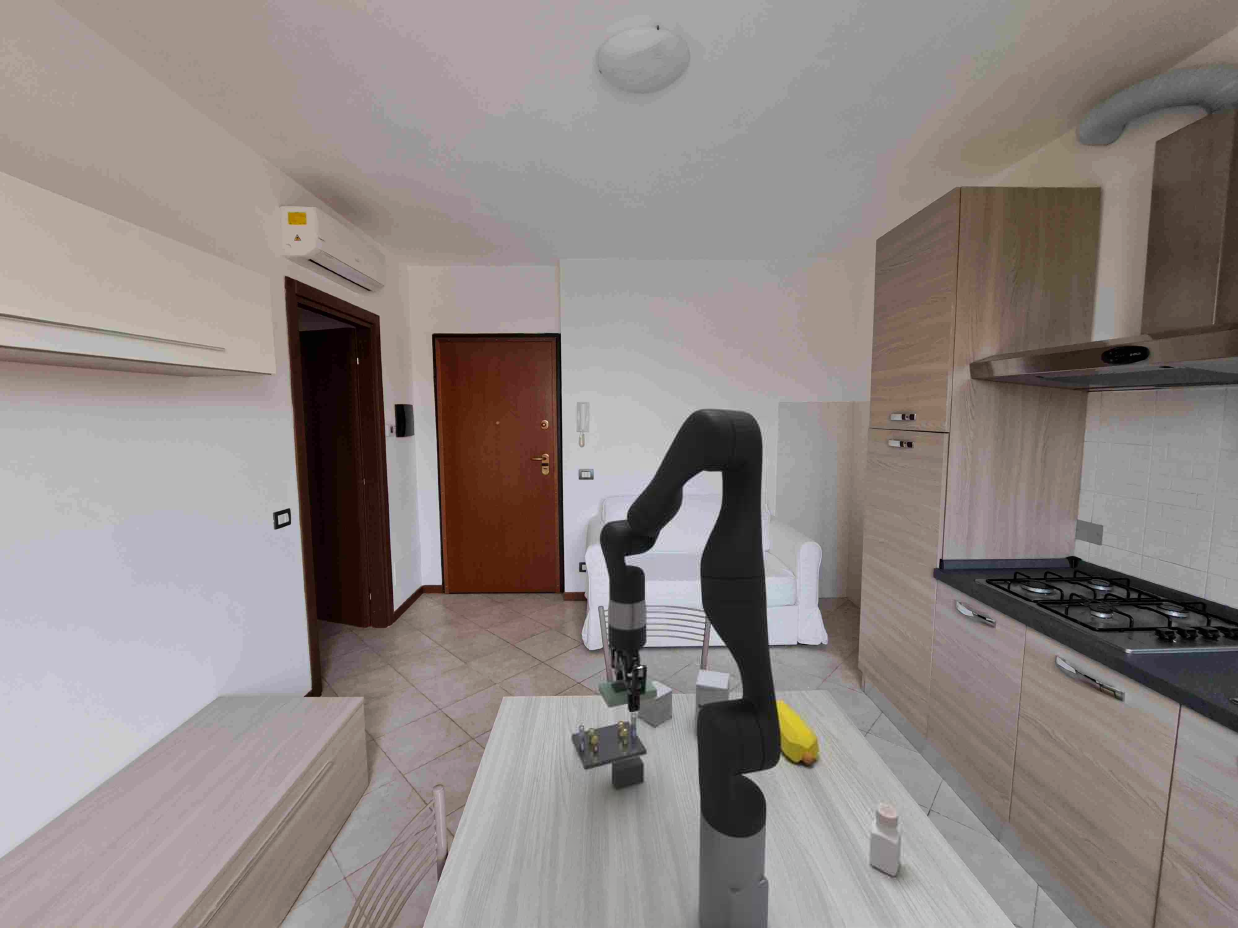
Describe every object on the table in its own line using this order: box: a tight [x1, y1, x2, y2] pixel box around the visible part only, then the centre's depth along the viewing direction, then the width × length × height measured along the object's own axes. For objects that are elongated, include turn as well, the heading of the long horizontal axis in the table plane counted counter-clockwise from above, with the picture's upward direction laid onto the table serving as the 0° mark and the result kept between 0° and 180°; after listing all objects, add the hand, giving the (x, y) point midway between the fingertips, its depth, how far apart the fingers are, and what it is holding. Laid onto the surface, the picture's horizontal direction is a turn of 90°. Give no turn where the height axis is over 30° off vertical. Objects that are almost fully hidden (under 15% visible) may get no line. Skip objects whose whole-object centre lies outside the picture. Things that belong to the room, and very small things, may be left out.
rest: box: [611, 755, 645, 791], centre depth 100 cm, size 6×2×4 cm, turn 110°
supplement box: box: [694, 668, 731, 736], centre depth 116 cm, size 7×7×13 cm
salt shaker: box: [868, 802, 902, 877], centre depth 81 cm, size 4×4×10 cm
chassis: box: [571, 713, 647, 770], centre depth 111 cm, size 14×11×6 cm
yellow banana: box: [776, 699, 820, 765], centre depth 112 cm, size 18×7×8 cm
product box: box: [637, 680, 673, 728], centre depth 121 cm, size 6×6×7 cm
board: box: [598, 676, 657, 709], centre depth 98 cm, size 10×6×2 cm, turn 111°
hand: (627, 701), depth 98 cm, fingers closed on board, 6 cm apart
